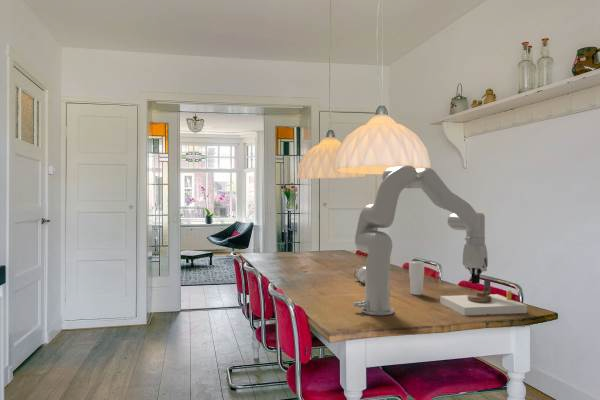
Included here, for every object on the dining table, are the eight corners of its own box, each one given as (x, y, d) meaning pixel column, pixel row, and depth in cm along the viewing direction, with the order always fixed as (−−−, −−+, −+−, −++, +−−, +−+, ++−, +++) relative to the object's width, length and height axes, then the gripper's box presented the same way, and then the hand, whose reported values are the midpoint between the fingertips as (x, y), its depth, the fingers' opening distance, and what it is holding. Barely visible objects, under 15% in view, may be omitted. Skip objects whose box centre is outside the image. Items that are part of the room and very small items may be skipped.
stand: (464, 315, 170) (464, 298, 170) (440, 303, 190) (440, 287, 190) (526, 312, 174) (526, 296, 174) (496, 301, 193) (497, 286, 193)
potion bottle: (369, 288, 226) (357, 286, 240) (383, 276, 229) (370, 275, 243) (358, 274, 225) (347, 273, 240) (372, 262, 228) (360, 261, 242)
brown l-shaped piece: (486, 303, 175) (487, 286, 175) (464, 300, 181) (464, 283, 181) (499, 297, 186) (499, 281, 186) (477, 294, 192) (477, 278, 192)
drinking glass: (412, 292, 212) (412, 260, 212) (426, 294, 207) (426, 261, 207) (406, 294, 206) (406, 262, 206) (420, 296, 202) (420, 263, 202)
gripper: (455, 240, 198) (455, 281, 198) (483, 243, 185) (484, 287, 185) (467, 239, 202) (467, 279, 202) (496, 242, 189) (496, 285, 189)
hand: (475, 283), depth 194 cm, fingers closed
